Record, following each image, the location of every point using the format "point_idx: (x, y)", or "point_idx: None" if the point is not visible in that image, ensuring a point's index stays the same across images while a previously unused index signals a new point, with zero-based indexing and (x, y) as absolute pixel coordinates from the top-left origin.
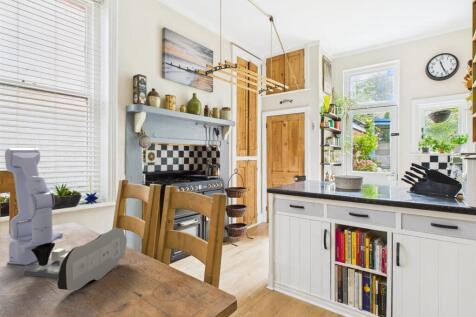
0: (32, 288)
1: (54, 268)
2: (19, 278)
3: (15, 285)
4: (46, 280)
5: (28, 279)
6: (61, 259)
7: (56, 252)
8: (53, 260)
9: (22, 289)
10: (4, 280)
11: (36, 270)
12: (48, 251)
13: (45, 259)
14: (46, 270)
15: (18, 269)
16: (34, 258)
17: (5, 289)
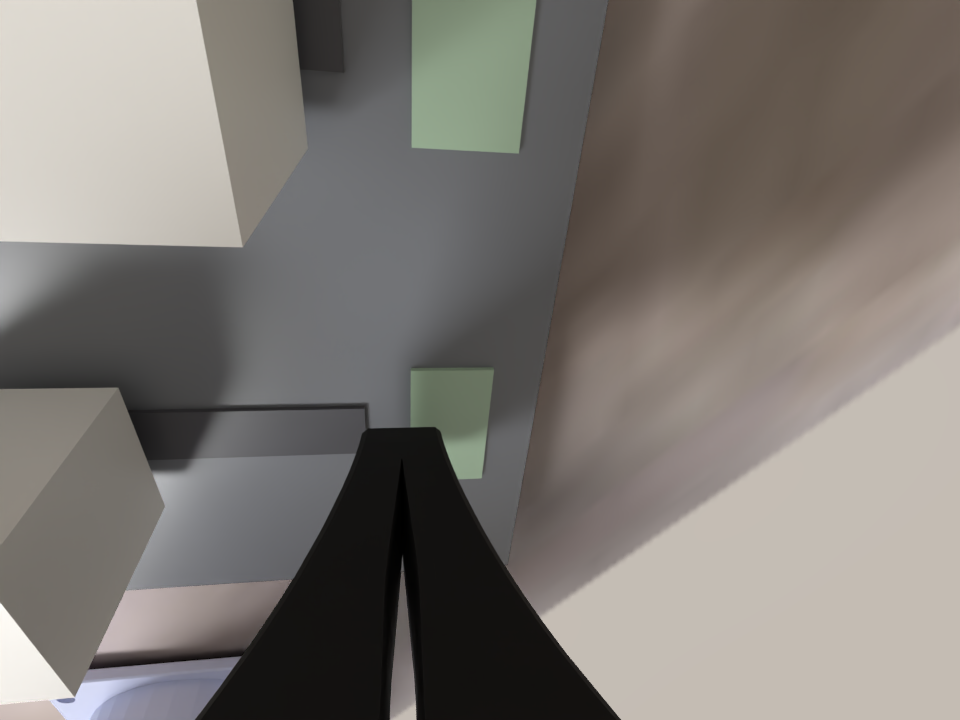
0: (912, 103)
1: (373, 233)
2: (583, 490)
3: (750, 398)
4: (662, 98)
5: (611, 390)
6: (251, 118)
7: (24, 597)
8: (152, 485)
9: (891, 232)
10: (621, 560)
11: (494, 448)
12: (374, 709)
13: (436, 511)
14: (477, 311)
15: (399, 634)
16: (192, 700)
17: (824, 413)
